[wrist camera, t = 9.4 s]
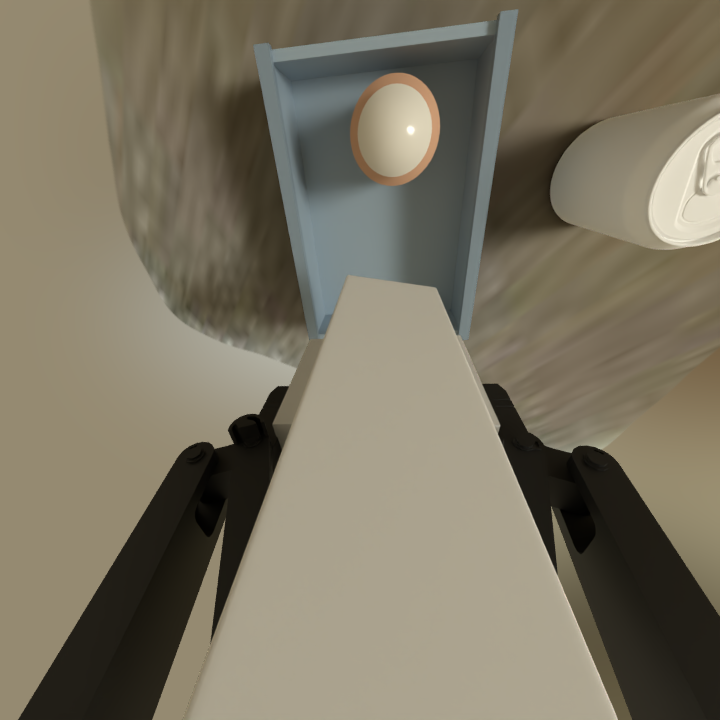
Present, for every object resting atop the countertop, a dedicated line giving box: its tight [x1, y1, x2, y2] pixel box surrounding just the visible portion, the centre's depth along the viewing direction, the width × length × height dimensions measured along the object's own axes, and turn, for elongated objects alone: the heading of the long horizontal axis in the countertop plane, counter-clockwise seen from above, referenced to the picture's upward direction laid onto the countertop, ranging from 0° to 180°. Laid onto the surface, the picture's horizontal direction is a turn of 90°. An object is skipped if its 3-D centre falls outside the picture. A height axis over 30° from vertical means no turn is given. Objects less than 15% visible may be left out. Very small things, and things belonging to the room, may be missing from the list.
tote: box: [253, 9, 518, 341], centre depth 27 cm, size 22×16×6 cm
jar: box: [350, 73, 440, 186], centre depth 22 cm, size 6×6×8 cm
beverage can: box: [550, 94, 720, 250], centre depth 21 cm, size 8×8×12 cm
